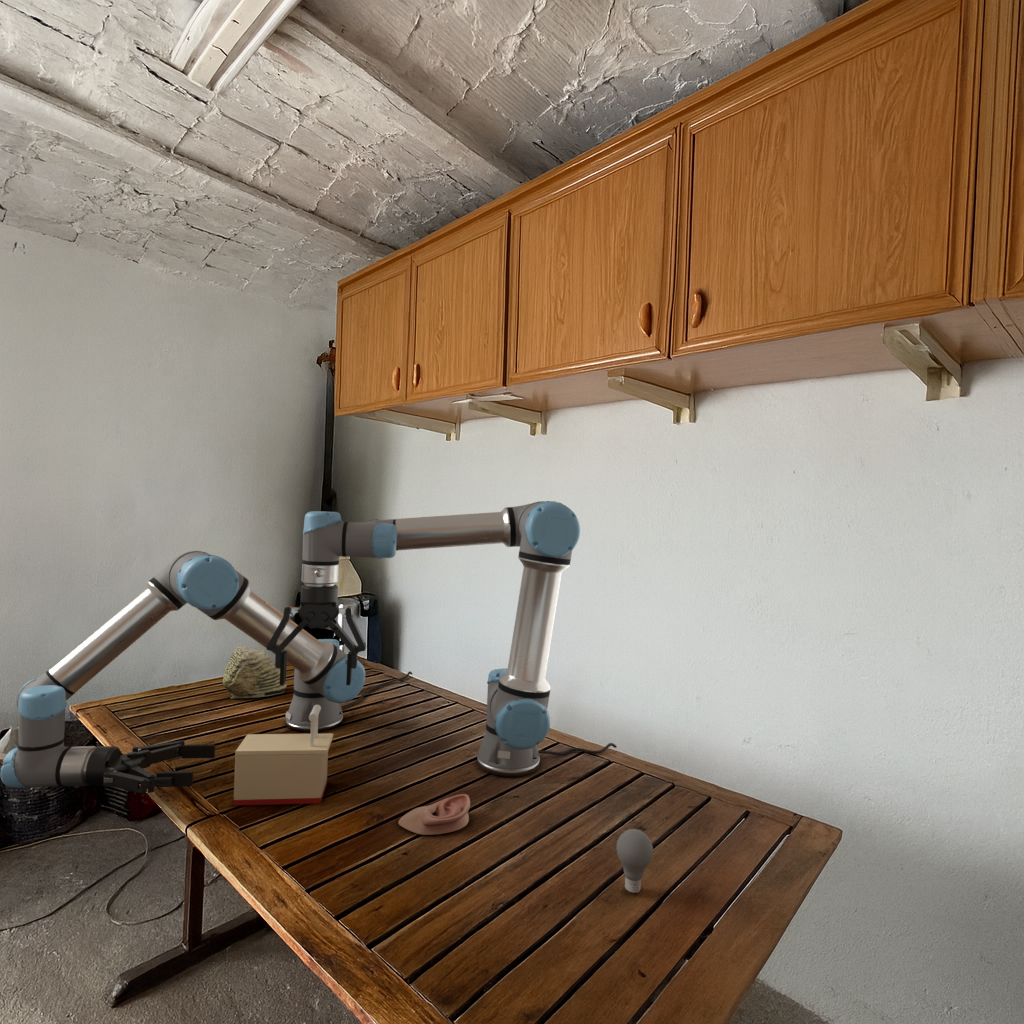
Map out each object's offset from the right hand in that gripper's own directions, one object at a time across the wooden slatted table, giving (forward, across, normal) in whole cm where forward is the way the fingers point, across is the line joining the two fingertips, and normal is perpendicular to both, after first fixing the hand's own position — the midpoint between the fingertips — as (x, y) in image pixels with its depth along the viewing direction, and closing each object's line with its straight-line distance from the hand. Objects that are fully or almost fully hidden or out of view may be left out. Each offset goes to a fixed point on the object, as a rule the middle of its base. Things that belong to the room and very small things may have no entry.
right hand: (316, 683), depth 135 cm
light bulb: (+24, +58, -39) cm, 74 cm away
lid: (+13, -6, 0) cm, 14 cm away
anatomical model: (+24, +26, -14) cm, 38 cm away
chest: (+24, -6, 0) cm, 24 cm away
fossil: (+24, -28, +68) cm, 77 cm away
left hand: (+17, -22, 0) cm, 28 cm away
